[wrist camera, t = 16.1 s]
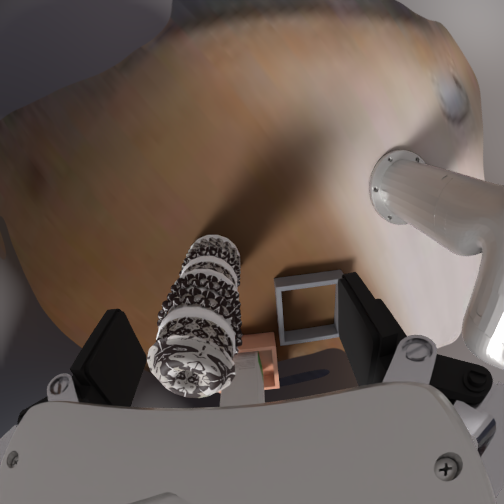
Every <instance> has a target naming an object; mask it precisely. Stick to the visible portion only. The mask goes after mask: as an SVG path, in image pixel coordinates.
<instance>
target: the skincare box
mask: <svg viewBox="0 0 504 504" xmlns="http://www.w3.org/2000/svg"><path fill="white" fill-rule="evenodd" d="M233 362H234V363H235V377H234V379H233V380H232V382H231V384H230V385H229V386H228V387H226V388H224V389H223V390H221V400H220V407H226V406H239V405H250V404H259V403H265V400H264V378H263V368H262V364H261V360H260V356H259V351H253V352H242V353H238V354H237V355H234V356H233Z"/></svg>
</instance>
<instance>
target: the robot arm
mask: <svg viewBox="0 0 504 504" xmlns="http://www.w3.org/2000/svg"><path fill="white" fill-rule="evenodd" d="M388 158H389V160H388ZM374 188H375V190H374ZM369 191H370V198H371V201H372V204H373V206H374V208H375V210H376V211H377V213H378V214H379V215H380V216H381V217H382V218H383V219H385V220H386V221H388V222H390V223H393V224H397V225H403V224H408V223H409V224H410V225H412V226H413V227H415V228H416V229H418V230H419V231H421V232H423V233H424V234H426V235H427V236H429V237H430V238H432V239H433V240H434V241H436V242H437V243H439V244H440V245H442V246H443V247H445V248H446V249H448V250H449V251H451V252H452V253H454V254H457V255H460V256H472V255H476V254H479V253H482V259H481V264H480V267H479V273H478V276H477V280H476V283H475V286H474V289H473V292H472V295H471V298H470V301H469V304H468V307H467V310H466V313H465V316H464V319H463V324H462V336H463V340H464V342H465V344H466V346H467V348H468V349H469V350H470V351H471V352H472V353H473V354H474V355H475V356H476V357H478V358H479V359H480V360H482V361H484V362H486V363H488V364H490V365H492V366H494V367H497V368H500V369H503V370H504V186H503V185H498V184H494V183H490V182H487V181H483V180H480V179H477V178H474V177H470V176H467V175H463V174H460V173H457V172H453V171H450V170H446V169H442V168H439V167H435V166H431V165H427V164H426V163H425V161H424V160H423V159H422V158H421V157H420V156H418V155H417V154H415V153H413V152H411V151H407V150H395V151H392V152H390V153H387V154H386V155H385V156H383V157H382V158H381V159H380V160H379V161H378V163H377V164H376V166H375V168H374V169H373V172H372V175H371V179H370V190H369ZM338 333H339V337H340V340H341V342H342V344H343V347H344V349H345V352H346V354H347V357H348V359H349V362H350V364H351V367H352V370H353V372H354V375H355V377H356V380H357V383H358V385H359V386H358V387H354V388H348V389H343V390H339V391H334V392H329V393H324V394H319V395H313V396H308V397H302V398H295V399H290V400H283V401H275V402H268V403H259V404H250V405H239V406H226V407H210V408H141V407H131V404H132V400H133V398H134V395H135V392H136V389H137V386H138V383H139V381H140V378H141V375H142V372H143V370H144V367H145V364H146V360H147V359H146V354H145V352H144V351H143V349H142V347H141V345H140V343H139V341H138V339H137V337H136V335H135V333H134V331H133V329H132V327H131V325H130V323H129V321H128V319H127V317H126V315H125V313H124V312H123V311H121V310H120V309H110V310H107V311H106V313H105V314H104V316H103V317H102V319H101V320H100V322H99V323H98V325H97V326H96V328H95V329H94V331H93V332H92V334H91V335H90V337H89V339H88V340H87V342H86V343H85V345H84V346H83V348H82V350H81V351H80V353H79V355H78V356H77V358H76V360H75V361H74V363H73V365H72V366H71V368H70V370H71V372H72V373H73V376H72V377H71V376H70V375H69V374H60V375H58V376H56V377H55V378H53V379H52V380H51V382H50V383H49V385H48V387H47V397H45V398H44V399H42V400H40V401H39V402H37V403H35V404H33V405H32V406H30V407H28V408H26V409H25V410H23V411H22V412H21V413H20V415H19V418H18V426H16V425H15V426H14V427H12V428H11V430H9V431H8V432H7V433H6V434H5V435H4V436H3V437H2V438H1V439H0V504H497V503H496V499H495V498H496V497H497V496H498V494H499V492H500V491H501V489H502V488H503V486H504V384H502V383H500V382H498V384H495V383H493V379H492V376H491V374H490V372H489V371H488V370H487V369H486V368H485V367H483V366H480V365H477V364H472V363H468V362H465V361H461V360H457V359H453V358H450V357H446V356H442V355H438V354H437V348H436V345H435V343H434V342H433V341H432V340H431V339H429V338H428V337H425V336H422V335H411V336H408V337H407V336H406V334H405V333H404V331H403V330H402V328H401V327H400V325H399V324H398V322H397V321H396V320H395V318H394V317H393V315H392V314H391V312H390V311H389V310H388V308H387V307H386V305H385V304H384V303H383V301H382V300H381V299H375V298H374V297H373V295H372V294H371V292H370V291H369V290H368V288H367V287H366V285H365V284H364V282H363V281H362V280H361V278H360V277H359V276H358V274H357V273H356V272H353V273H348V274H343V275H342V278H341V279H338ZM467 428H468V429H467ZM470 434H472V435H473V436H474V437H475V438H476V440H477V442H478V450H477V448H476V446H475V444H474V441H473V439H472V437H471V435H470ZM436 461H437V462H436Z"/></svg>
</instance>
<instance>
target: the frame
mask: <svg viewBox="0 0 504 504" xmlns="http://www.w3.org/2000/svg"><path fill="white" fill-rule="evenodd" d="M342 275H343V272H342V271H341V270H334V271H327V272H319V273H312V274H304V275H296V276H288V277H280V278H274V284H275V296H276V307H277V319H278V331H279V339H280V346H283V345H290V344H298V343H304V342H311V341H317V340H323V339H329V338H335V337H339V333H338V279H341V278H342ZM330 284H336V295H335V314H334V324H331V325H325V326H319V327H313V328H306V329H299V330H292V331H284V324H283V309H282V295H281V291H286V290H294V289H301V288H309V287H316V286H323V285H330Z"/></svg>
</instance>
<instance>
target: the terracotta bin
mask: <svg viewBox="0 0 504 504" xmlns="http://www.w3.org/2000/svg"><path fill="white" fill-rule="evenodd" d="M235 337H236V336H235ZM241 339H242V346H238V350H239V351H238V353H242V352H253V351H259V356H260V360H261V364H262V368H263V378H264V390H267V389H276V388H279V377H278V366H277V354H276V344H275V337H274V332H267V333H258V334H248V335H242V338H241ZM219 393H221V391H220V392H219Z"/></svg>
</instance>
